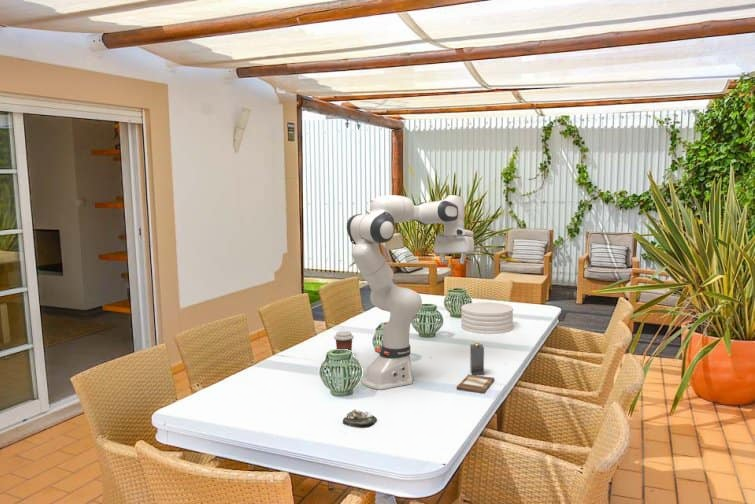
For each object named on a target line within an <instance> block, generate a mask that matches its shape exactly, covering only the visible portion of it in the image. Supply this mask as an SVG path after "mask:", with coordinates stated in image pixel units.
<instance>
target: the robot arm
mask: <svg viewBox="0 0 755 504" xmlns="http://www.w3.org/2000/svg"><path fill="white" fill-rule="evenodd" d="M465 208H466V207H465V201H464V198H463V197H462V196H460V195H457V194H456V195H455V194H449V195H447V196H446V197H445V198H443V199H441V200H435V201H434V200H433V201H428V202H426V201H423V202H420V203H418V204H416V205H415V204H414V202H413V201H412V199H411V198H410V197H407V196H403V195H394V194H390V195H389V194H388V195H387V194H386V195H380V196H379V195H378V196H376V197H375V198H374V199H373V200H372V201H371V205H370V212H369V213H364V214H363V213H359V214H358V213H357V214H354V215H352V216H350V217H349V219H348V220H347V223H346V232H347V235H348V237H349V241H350V242H351V243H352V244H353V245H354V246H353V247H352V250H351V257H352V259H353V262H354V264H355V265H356V268H357V269H358V271H359V272H360V274H361V275H362V277H363V279H364V280H365V281H366V283H367V284H368V286H369V288H370V290H371V291H370V295H369V296H370V297H369V299H370V302H371V304H372V305H373V306H374V307H376V308H378V309H379V310H381V311H385V312H387V313H388V312H389V313H390V316H389V320H388V322H386V323H385V324H384V325H383V327H382V345H381V346H380V347H381V348H380V347H377V346H376V347H375V348H374V352H375V353H378V354H379V355H378V356H377V357H376V358H375V359H373V361H372V362H371V363H370V364H369V365H368V367H367V369H366V376H365V377H363V378H361V379H360V383H361V384H362V385H364V386H366V387H369V388H370V389H373V390H378V391H379V390H380V391H381V390H386V389H393V388H397V387H401V386H407V385H411V384H413V380H414V375H413V371H412V364H411V356H410V355H411V353H412V352H411V344H410V328H411V323H412V320H413V318H414V317H415V315H416V314H417V313H419V312H420V310H421V308H422V304H423V302H422V301H423V300H422V297H421V295H420V293H418V292H417V291H415V290H413V289H411V288H407V287H403V286H399V285H396V284H395V283H394V282H393V278H394V274H395V273H394V271H393V269H392V267H391V266H390V264H389V263H388V262H387V260H386V259H385V257H384V256H383V254H382V253H381V251H380V249H379V246H378V245H379V244H384V243H387V242H390V241H391V240H392V239H393V237H394V235H395V230H396V226H395V224H396V223H398V224H399V223H400V224H401V223H407V222H410V220H412V221H416V222H417V223H418V224H420V225H423V226H424V225H425V226H426V225H433V224H443V223H444V224H443V232H438V233H437V234H436V235H435V240H434V246H433V252H434V253H435V254H439V256H440V258H441V264H442V265H446V264H448V259H447V258H446V255H447V254H450V255H451V254H452V255H453V254H460V256H461V257H460V259H458V264H460V265H464V264H465V262H464V261H465V259H466V257H467V254H473V252H474V251H475V240H474V231H473V230H468V229H466V228H465V223H464V219H465V215H466V214H465V212H466V211H465Z"/></svg>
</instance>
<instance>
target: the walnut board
mask: <svg viewBox="0 0 755 504" xmlns="http://www.w3.org/2000/svg"><path fill="white" fill-rule="evenodd" d="M494 382H495V377H491V376H485V375H471V374H469V373H468V374H467V375H466V376H465V377H463V380H461V382H459V383H458V385H456V390H457V391H463V392H471V393H477V394H485V393H486V392H487V391H488V390H489V388H490V386H492V384H493V383H494Z"/></svg>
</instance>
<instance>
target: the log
mask: <svg viewBox="0 0 755 504" xmlns="http://www.w3.org/2000/svg"><path fill="white" fill-rule="evenodd" d="M377 421H378V419H377V417H376V416H375V415H373V413H371V412H368V411H365V412H364V411H362V410H361V411H360V410H357V409H355V408H353V409H352V410H351V411H349V412H347V413H346V417H345V416H344V418H343V419H342V424H344V425H345V426H348V427H353V428H359V429H360V428H371V427H373V426H374V425H376V424H377Z"/></svg>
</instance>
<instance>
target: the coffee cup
mask: <svg viewBox="0 0 755 504" xmlns="http://www.w3.org/2000/svg"><path fill="white" fill-rule="evenodd" d="M354 337H355V336H354V335H353V334H352V331H350V330H341V331H337V332H336V334H335V335H333V338H334V340H335V347H336V350H337V349H348V350H351V351H352V349H353V347H352V346H353V339H354Z"/></svg>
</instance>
